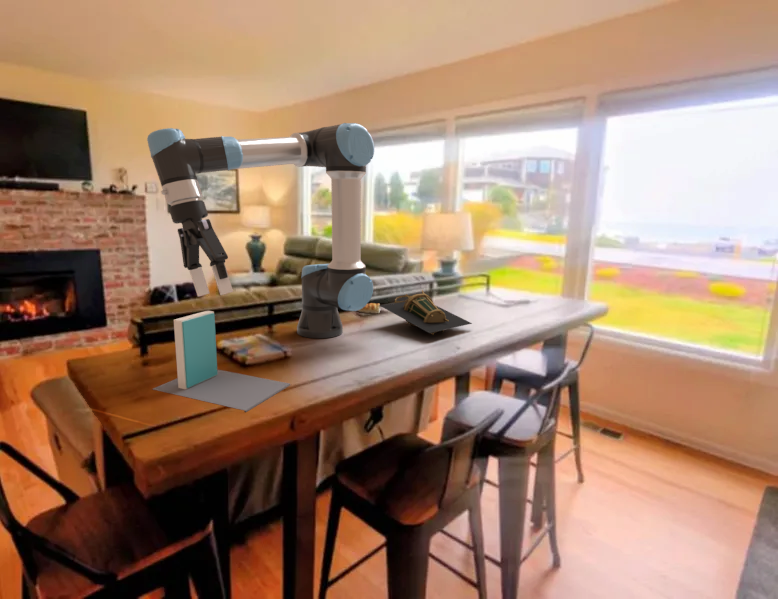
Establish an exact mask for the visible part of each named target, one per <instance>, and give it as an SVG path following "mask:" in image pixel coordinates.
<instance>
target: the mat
mask: <svg viewBox="0 0 778 599" xmlns="http://www.w3.org/2000/svg"><path fill="white" fill-rule="evenodd" d="M217 373H218V374H217V375H216V376H214V377H212V378H210V379H207V380H205V381H203V382H201V383H199V384H196V385H194V386H192V387H190V388H188V389H181V388H178V377H177V378H174V379H172V380H170V381H168V382H165V383H163V384H160V385H158V386H156V387H153V388H152V390H153V391H158V392H163V393H167V394H169V395H170V394H171V395H174V396H175V395H176V396H180V397H185V398H189V399H193V400H196V401H197V400H198V401H202V402H206V403H211V404H214V405H219V406H224V407H228V408H233V409H236V410H241V411H243V413H247V412H249V411H251V410H253V408H256V407H257V406H259V405H261V404H263V403H264V402H266V401H267V400H269V399H271V398H272V397H274V396H275V395H277V394H278V393H280V392H281V391H283V390H285V389H287V388H288V387H289V386H291V383H288V382H283V381H280V380H279V381H278V380H274V379H269V378H265V377H264V378H263V377H257V376H253V375H247V374H244V373H243V374H242V373H239V372H233V371H229V370H228V371H227V370H222V369H219V368H217Z"/></svg>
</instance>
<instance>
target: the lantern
mask: <svg viewBox="0 0 778 599" xmlns="http://www.w3.org/2000/svg"><path fill="white" fill-rule="evenodd" d="M401 298H406V299H405V300H398V299H401ZM379 306H380V308H381V307H382V308H384V309H385V310H387V311H389V312H390V313H392V314H394V315H395V316H398V317H399V318H401V319H403V320H404V321H406V324H407V325H409V326H412V327H418V328H419V329H421V330H423V331H424V332H426V333H428V334H431V335H433V336H434V334H436V333H439V332H442V333H444V331H445V330H449V329H454V328H458V327H463V326H466V325H472V324H473V323H472V322H471V321H468V320H466V319H464V318H462V317H460V316H458V315H457V314H454V313H452V312H450V311H448V310H445V309H444V308H442V307H440V306H438V305H435V304H434V300H433V298H431V297H430V295H428V294H426V293H425V292H424V290H423V289H421V293H416V294H413V295H409V294H407V293H406V294H405V295H400V296H396V298H395V299H394V302H393V303H386V304H380V305H379Z"/></svg>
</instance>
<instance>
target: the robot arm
mask: <svg viewBox="0 0 778 599" xmlns="http://www.w3.org/2000/svg"><path fill="white" fill-rule="evenodd" d="M146 141H147V144H148V145H147V146H148V149H149V153H150V158H151V160H152V162H153V166H154V168H155V170H156V173H157V177H158V179H159V182H160V186H161V188H162V190H161V191H160V193H161V195H163V196H164V198H165V201H166V204H167V205H170V206H169V207H168V211H169V213H170V214H169V215H170V217H171V220H172V222H173V224H181V225H182V227H180V228H177V234H178V238H179V243H180V250H181V256H182V263H183V264H182V265H183V267H184V268H185V269H187V270H188V271H189V274H190V277H191V280H192V282H193V286H194V290H195V292H196V296H197V297H202V296H206V295H208V294H210V289H209V286H208V284H207V280H206V277H205V274H204V271H203V265H202V264H201V263H200V248H201V250H202V251H203V253H204V254H205V255H206V257H208V259H209V266H210V267H211V270H212V273H213V277H214V279H215V280H214V281H215V282H216V285H217V286H216V287H217V289H218V293H219V295H220V296H223V295H227V294H230V293H233V292H234V289H233V287H232V283H231V279H230V276H229V274H228V270H227V267H226V265H225V263H226V260H228V259H229V257H228V254H227V252H226V251H225V248H224V246H223V245H222V243H221V241H220V239H219V237H218V235H217V234H216V232H215V230H214V227H213V226H212V222H211V220H210V219H209V218H206V217H208V216H209V215H208V210H207V207H206V204H205V201H204V200H202V198H203V196H204V195H203V193H202V189H201V186H200V183H199V180H198V178H197V174H203V173H204V174H205V173H214V172H215V173H216V172H221V171H223V172H224V171H231V170H240V169H250V168H261V167H271V166H284V165H294V166H295V167H298V168H299V167H315V168H316V167H318V168H325V174H327V175H328V177H329V178H330V180H331V253H332V254H331V255H332V256H331V257H332V258H331V259H332V260H331V261H330V263H319V264H308V265H303V267H302V269H301V277H300V278H301V313H300V316H299V320H298V323H297V325H296V334H297V335H299V336H300V337H303V338H304V337H305V338H311V339H330V338H333V337H335V338H336V337H337V336H340V335H342V334H343V332H344V330H343V329H344V328H343V326H344V325H343V322H342V319H341V316H340V312H339V311H338V308H339V309H341V310H343V311H350V312H357V311H358V310H360V309H362V308H363V307H365V306H366V304H369V302H370V300H371V299H372V297H373V292H374V283H373V280H372V279H371V277H370V276H368V275H367V274H366V272H367V271H366V269H367V268H366V264H365V263H364V262H363V261H362V260H361V258H362V257H361V254H362V253H361V252H362V251H361V250H362V249H361V248H362V247H361V245H362V244H361V243H362V242H361V241H362V240H361V239H362V238H361V237H362V236H361V230H362V229H361V226H362V225H361V222H362V221H361V220H362V218H361V215H362V214H361V208H362V207H361V206H362V204H361V202H362V200H361V199H362V197H361V196H362V195H361V194H362V192H361V191H362V190H361V189H362V185H361V184H362V182H361V180H362V178H363V177H364V176H365V175H366V174H367V165H369V164H370V163H371V162H372V161H371V160H372V159H373V158H374V155H375V143H374V139H373V137H372V135H371V133H370V132H369V131H368V129H367V128H366V127H365V126H363V125H362V124H359V123H355V122H348V123H346V122H344V123H341V124H335V125H330V126H323V127H319V128H316V129H312V130H309V131H303V132H293V133H292V134H291V135H290V136H280V137H261V138H239V139H237V138H236V137H234V136H224V135H221V136H213V137H203V138H202V137H200V138H186V136H185V135H184V133H183V131H182V130H181V129H180V128H172V127H170V128H169V127H167V128H162V129H161V128H160V129H157V130H154V131H152V132H150V133H149V134H148V135H147V139H146Z"/></svg>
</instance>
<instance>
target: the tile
mask: <svg viewBox="0 0 778 599" xmlns="http://www.w3.org/2000/svg"><path fill="white" fill-rule="evenodd" d="M215 320H216V318H215V311H212V310H205V311H201V312H197V313H193V314H190V315H186V316H183V317H179V318H176V319H173V331H174V342H175V358H176V359H175V360H176V373H177V374H176V375H177V378H178V388H181V389H188V388H190V387H192V386H194V385H196V384H199V383H201V382H203V381H205V380H207V379H210V378H212V377H214V376H216V375H217V374H218V373H217V369H218V358H217V356H218V355H217V340H216V338H217V337H216V335H217V334H216V322H215Z"/></svg>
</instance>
